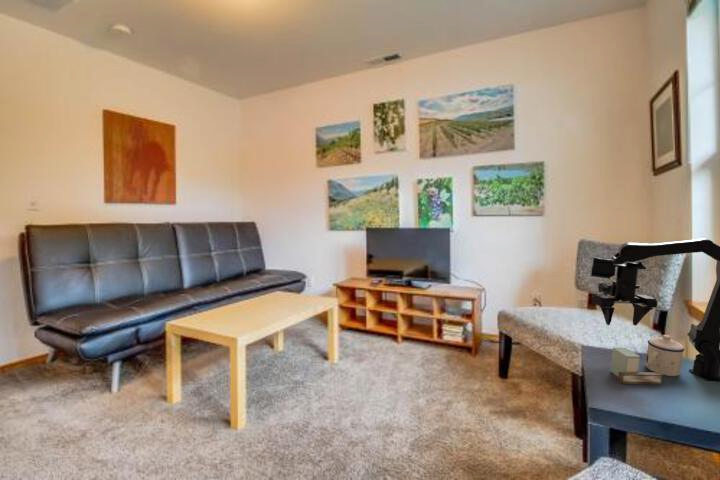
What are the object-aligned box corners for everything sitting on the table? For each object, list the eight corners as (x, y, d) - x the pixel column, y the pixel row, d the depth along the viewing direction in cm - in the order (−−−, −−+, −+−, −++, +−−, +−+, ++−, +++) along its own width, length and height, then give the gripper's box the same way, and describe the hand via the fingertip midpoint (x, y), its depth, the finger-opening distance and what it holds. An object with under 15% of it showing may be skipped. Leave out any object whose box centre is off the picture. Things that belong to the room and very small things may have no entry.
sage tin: (622, 371, 117) (625, 347, 116) (637, 381, 111) (640, 356, 110) (610, 371, 117) (612, 347, 116) (624, 381, 111) (627, 356, 110)
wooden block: (657, 381, 111) (658, 372, 111) (661, 384, 109) (662, 375, 109) (617, 381, 111) (618, 371, 111) (621, 384, 109) (622, 374, 109)
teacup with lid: (653, 361, 125) (657, 328, 123) (686, 373, 117) (691, 338, 115) (633, 368, 119) (638, 334, 118) (667, 381, 111) (672, 345, 110)
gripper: (635, 275, 131) (630, 317, 133) (584, 274, 131) (579, 316, 133) (661, 283, 120) (655, 328, 122) (604, 282, 120) (600, 328, 122)
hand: (621, 324), depth 125 cm, fingers open, 9 cm apart
